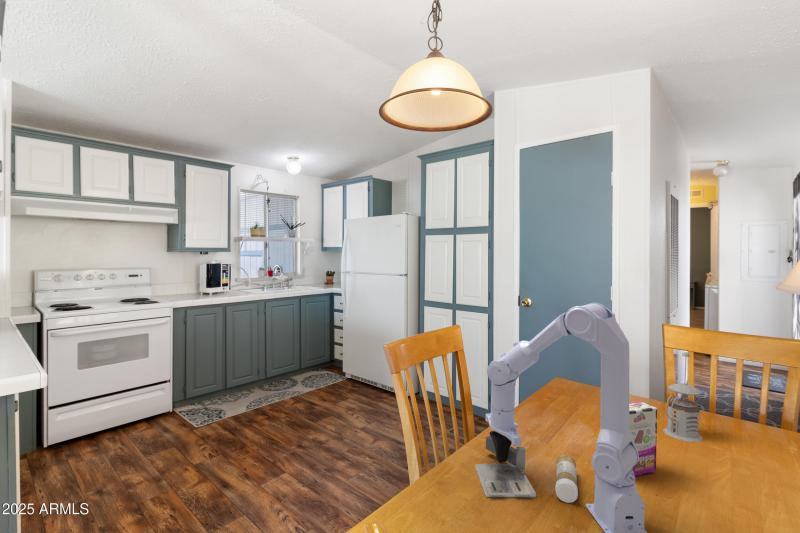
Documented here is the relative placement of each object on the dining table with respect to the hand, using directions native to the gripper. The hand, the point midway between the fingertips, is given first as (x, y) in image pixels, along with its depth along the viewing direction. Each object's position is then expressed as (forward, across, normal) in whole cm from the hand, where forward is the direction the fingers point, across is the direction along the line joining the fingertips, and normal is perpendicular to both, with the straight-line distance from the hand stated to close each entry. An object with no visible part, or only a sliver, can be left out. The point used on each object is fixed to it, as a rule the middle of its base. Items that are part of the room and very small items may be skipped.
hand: (501, 461), depth 101 cm
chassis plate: (+2, -5, +2) cm, 6 cm away
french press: (+2, +5, -62) cm, 62 cm away
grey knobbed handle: (+1, +2, -2) cm, 3 cm away
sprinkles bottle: (0, -5, -15) cm, 16 cm away
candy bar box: (+2, -8, -31) cm, 32 cm away
